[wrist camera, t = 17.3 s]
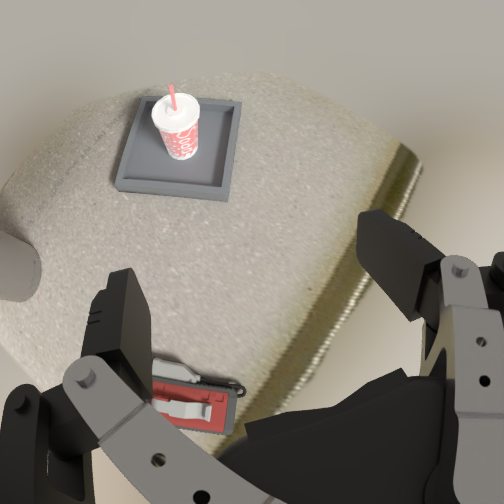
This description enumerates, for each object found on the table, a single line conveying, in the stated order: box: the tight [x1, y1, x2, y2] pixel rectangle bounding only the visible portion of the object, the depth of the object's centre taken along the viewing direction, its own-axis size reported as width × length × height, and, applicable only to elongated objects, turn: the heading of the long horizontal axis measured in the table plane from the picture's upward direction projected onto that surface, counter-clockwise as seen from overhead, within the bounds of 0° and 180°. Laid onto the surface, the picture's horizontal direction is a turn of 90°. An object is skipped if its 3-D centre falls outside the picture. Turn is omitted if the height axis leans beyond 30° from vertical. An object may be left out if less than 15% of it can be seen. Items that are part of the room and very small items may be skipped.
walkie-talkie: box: [142, 358, 246, 436], centre depth 36 cm, size 9×4×20 cm
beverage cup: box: [151, 83, 200, 160], centre depth 37 cm, size 6×6×14 cm
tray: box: [114, 96, 242, 202], centre depth 44 cm, size 16×16×2 cm
